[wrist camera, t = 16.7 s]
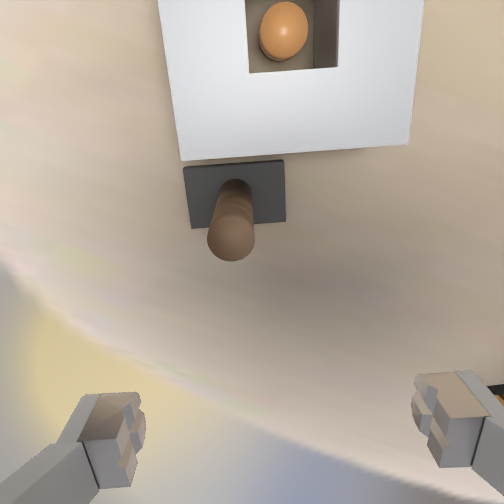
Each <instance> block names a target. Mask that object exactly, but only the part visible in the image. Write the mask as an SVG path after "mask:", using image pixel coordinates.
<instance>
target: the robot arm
mask: <svg viewBox="0 0 504 504" xmlns="http://www.w3.org/2000/svg"><path fill="white" fill-rule="evenodd" d="M414 386H415V387H416V389H417V392H416V393H415V394H414V395H413V396H412V402H411V408H412V415H413V418H414V421H415V423H416V425H417V427H418V429H419V431H420V432H422V433H423V434H424V435H426V436H427V437H428V443H427V446H428V448H429V450H430V452H431V453H432V455H433V457H434V459H435V461H436V463H437V465H438V466H439V468H452V467H472V468H471V469H472V470H474V471H475V472H476V473H477V474H478V475H480V476H481V477H482V478H483V479H484V480H485V481H487V482H488V483H489V484H490V485H491V486H493V487H494V488H495V489H496V490H497V491H498V492H500V493H501V494H502V495H503V496H504V406H503V405H502V404H501V403H500V402H499V400H498V399H497V398H496V397H495V396H494V395H493V393H492V392H491V391H490V390H489V389H488V388H487V387H486V385H485V384H484V383H483V382H482V381H481V380H480V378H479V377H478V376H477V375H476V374H475V373H474V372H472V371H470V370H469V371H456V372H443V373H429V374H418V375H417V376H416V378H415V382H414ZM140 403H141V399H140V396H139V393H137V392H122V393H103V394H86V395H84V396H83V397H82V398H81V399H80V401H79V403H78V405H77V406H76V408H75V410H74V412H73V413H72V415H71V417H70V419H69V421H68V422H67V424H66V426H65V428H64V430H63V431H62V433H61V435H60V437H59V439H58V440H57V442H56V444H50V445H49V446H47V447H46V448H45V449H43V450H42V451H41V452H40V453H38V454H37V455H36V456H34V457H33V458H32V459H31V460H29V461H28V462H27V463H26V464H24V465H23V466H22V467H21V468H19V469H18V470H17V471H15V472H14V473H13V474H12V475H10V476H9V477H8V478H7V479H5V480H4V481H3V482H1V483H0V504H89V503H90V501H91V500H92V499H93V498H94V497H95V496H96V495H97V493H98V492H99V489H108V488H120V487H130V486H131V483H132V480H133V477H134V473H135V470H136V467H137V464H138V462H137V459H136V454H137V453H138V451H139V450H140V449H141V448H142V447H143V443H144V439H145V431H146V420H145V415H144V413H143V412H142V411H141V410H140V409H139V406H140Z"/></svg>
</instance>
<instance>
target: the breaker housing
mask: <svg viewBox="0 0 504 504" xmlns="http://www.w3.org/2000/svg"><path fill="white" fill-rule="evenodd" d="M158 7H159V14H160V21H161V27H162V34H163V41H164V48H165V55H166V61H167V68H168V75H169V82H170V89H171V96H172V102H173V109H174V116H175V123H176V130H177V137H178V143H179V150H180V157H181V161H190V160H203V159H217V158H230V157H244V156H257V155H271V154H284V153H298V152H311V151H325V150H338V149H352V148H365V147H379V146H392V145H406V144H409V136H410V126H411V117H412V108H413V99H414V90H415V81H416V72H417V63H418V54H419V45H420V36H421V27H422V18H423V9H424V0H314V69H305V70H291V71H278V72H264V73H250V74H249V62H248V46H247V30H246V14H245V0H158Z"/></svg>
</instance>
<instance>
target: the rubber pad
mask: <svg viewBox="0 0 504 504" xmlns="http://www.w3.org/2000/svg"><path fill="white" fill-rule="evenodd" d="M183 174H184V181H185V188H186V194H187V201H188V208H189V215H190V222H191V229H194V228H207V227H210V225H211V221H212V218H213V214H214V210H215V207H216V203H217V200H218V196H219V192H220V189H221V187H222V185H223V184H224V183H225V182H226V181H228V180H230V179H240V180H243V181H244V182H246V183H247V184H248V185H249V187H250V189H251V193H252V208H253V224H261V223H274V222H286V210H285V176H284V161H283V160H269V161H256V162H242V163H229V164H215V165H202V166H188V167H184V168H183Z"/></svg>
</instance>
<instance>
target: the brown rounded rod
mask: <svg viewBox="0 0 504 504" xmlns="http://www.w3.org/2000/svg"><path fill="white" fill-rule="evenodd" d="M207 242H208V246H209V248H210V250H211V251H212V253H213V254H214V255H215V256H217V257H218V258H220V259H222V260H225V261H237V260H240V259H243V258H244V257H246V256H247V255H248V254H249V253H250V252H251V250H252V248H253V246H254V224H253V208H252V193H251V189H250V187H249V185H248V184H247V183H246V182H244V181H243V180H240V179H230V180H228V181H226V182H225V183H224V184H223V185H222V187H221V189H220V192H219V196H218V200H217V203H216V207H215V210H214V214H213V218H212V221H211V225H210V228H209V232H208V236H207Z"/></svg>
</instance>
